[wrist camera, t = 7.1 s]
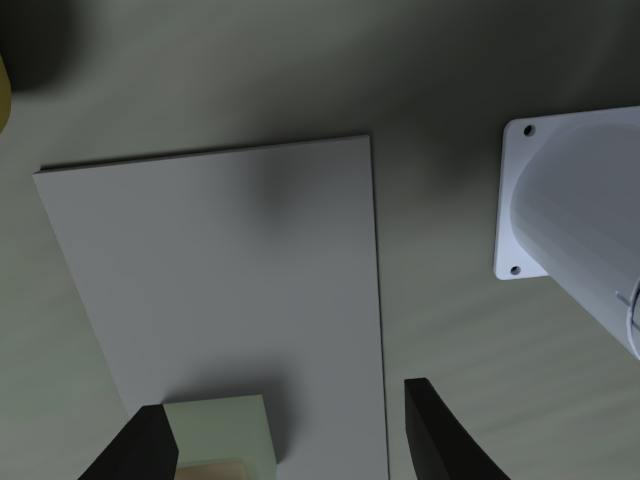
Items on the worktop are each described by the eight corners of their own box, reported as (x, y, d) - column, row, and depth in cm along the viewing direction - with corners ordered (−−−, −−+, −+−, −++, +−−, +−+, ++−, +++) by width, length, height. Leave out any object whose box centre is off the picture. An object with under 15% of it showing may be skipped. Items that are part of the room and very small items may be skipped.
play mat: (367, 134, 19) (369, 137, 19) (387, 487, 29) (389, 496, 29) (39, 170, 19) (31, 174, 19) (171, 508, 29) (168, 516, 29)
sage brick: (261, 394, 25) (253, 455, 21) (277, 465, 27) (272, 530, 23) (159, 404, 25) (133, 467, 21) (183, 474, 27) (164, 540, 24)
